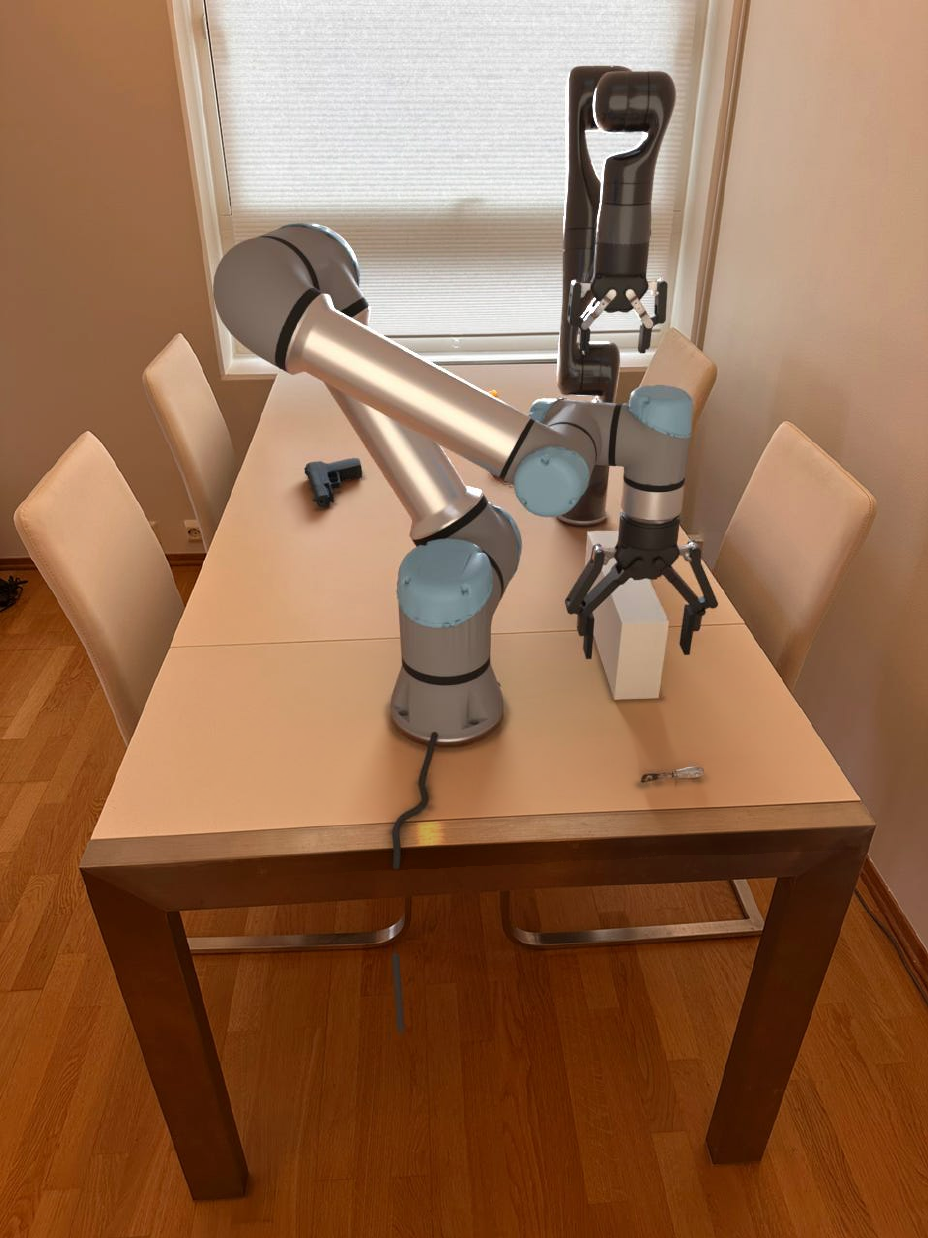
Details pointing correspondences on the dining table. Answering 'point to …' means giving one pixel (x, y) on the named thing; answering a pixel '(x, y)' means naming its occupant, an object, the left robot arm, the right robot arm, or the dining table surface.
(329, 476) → the handgun
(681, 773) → the putty knife
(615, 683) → the box
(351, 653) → the dining table surface
